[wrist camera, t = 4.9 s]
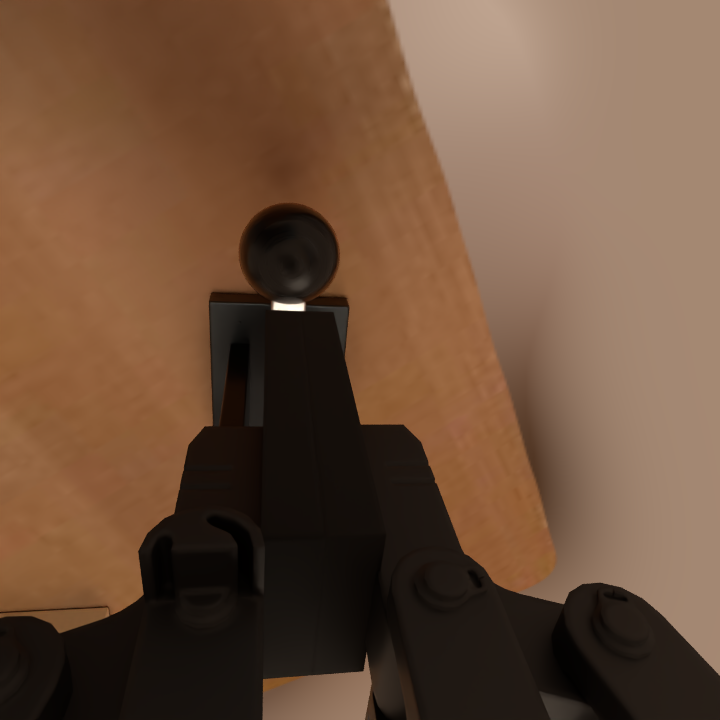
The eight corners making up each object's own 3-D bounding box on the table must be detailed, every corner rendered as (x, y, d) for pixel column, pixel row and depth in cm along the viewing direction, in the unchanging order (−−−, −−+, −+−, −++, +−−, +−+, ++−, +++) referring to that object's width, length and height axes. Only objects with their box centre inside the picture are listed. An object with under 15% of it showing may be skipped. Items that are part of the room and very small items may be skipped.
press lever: (241, 193, 18) (235, 206, 15) (337, 200, 19) (349, 213, 16) (240, 516, 23) (236, 572, 20) (317, 514, 24) (323, 568, 21)
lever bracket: (210, 292, 28) (172, 448, 17) (346, 297, 29) (392, 447, 18) (215, 435, 32) (186, 634, 21) (333, 435, 34) (364, 623, 23)
